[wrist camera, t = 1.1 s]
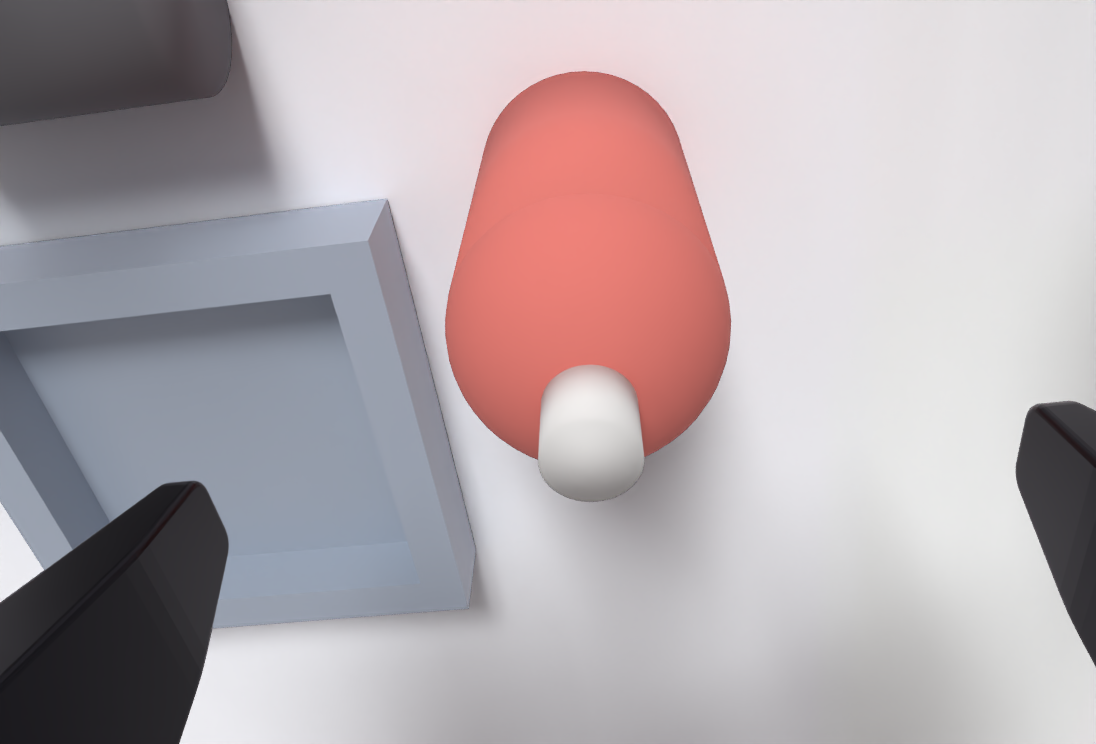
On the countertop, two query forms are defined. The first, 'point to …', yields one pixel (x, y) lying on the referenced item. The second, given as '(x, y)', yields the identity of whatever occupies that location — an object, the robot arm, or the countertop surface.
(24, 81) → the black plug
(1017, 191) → the countertop surface
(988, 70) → the countertop surface
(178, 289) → the tray
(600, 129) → the red rounded cylinder
